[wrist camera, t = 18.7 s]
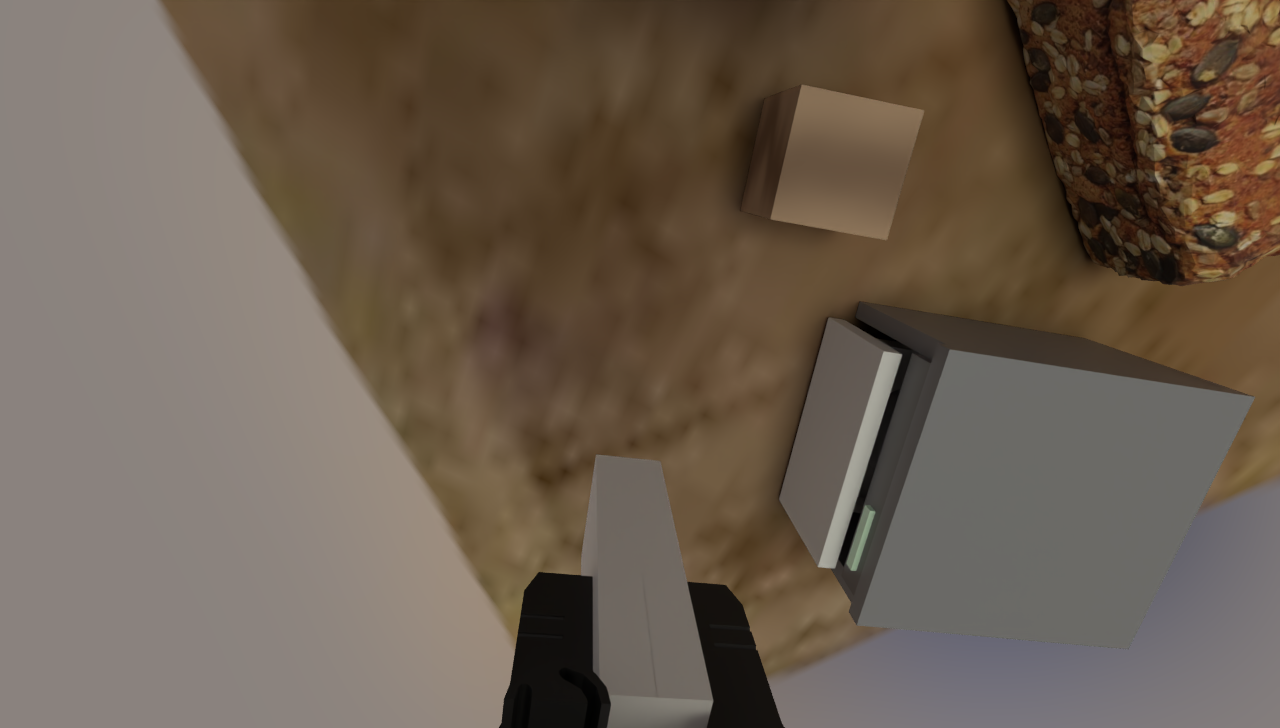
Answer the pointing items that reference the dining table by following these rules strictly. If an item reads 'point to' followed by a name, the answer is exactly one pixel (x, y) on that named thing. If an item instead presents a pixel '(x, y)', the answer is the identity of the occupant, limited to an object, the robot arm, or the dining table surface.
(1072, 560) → the grey drawer cabinet
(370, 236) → the dining table surface
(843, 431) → the grey drawer
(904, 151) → the riser cube
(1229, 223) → the bread
